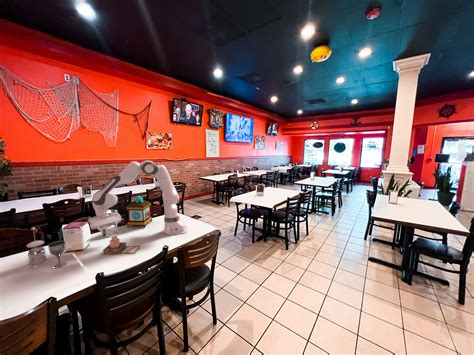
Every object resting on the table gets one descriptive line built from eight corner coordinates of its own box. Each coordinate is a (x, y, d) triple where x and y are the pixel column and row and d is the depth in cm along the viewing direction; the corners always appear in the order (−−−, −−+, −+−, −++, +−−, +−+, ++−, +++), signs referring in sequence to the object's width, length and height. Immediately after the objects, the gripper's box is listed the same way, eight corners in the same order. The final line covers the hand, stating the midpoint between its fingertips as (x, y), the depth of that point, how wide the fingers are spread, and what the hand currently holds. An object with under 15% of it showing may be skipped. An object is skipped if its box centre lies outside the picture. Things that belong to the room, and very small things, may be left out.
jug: (109, 250, 141) (108, 237, 139) (118, 247, 146) (117, 234, 144) (113, 254, 136) (112, 240, 135) (122, 250, 141) (121, 237, 139)
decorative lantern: (124, 228, 182) (122, 198, 177) (135, 220, 201) (133, 193, 197) (145, 228, 182) (144, 198, 177) (154, 221, 202) (153, 193, 197)
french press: (29, 269, 118) (23, 232, 115) (24, 263, 124) (19, 227, 121) (50, 262, 127) (46, 226, 123) (45, 256, 133) (40, 222, 129)
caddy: (141, 247, 149) (141, 241, 148) (134, 255, 137) (134, 249, 136) (112, 247, 147) (112, 241, 146) (102, 256, 135) (102, 250, 135)
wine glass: (48, 270, 118) (45, 247, 116) (53, 263, 125) (51, 242, 123) (65, 266, 122) (62, 245, 120) (69, 260, 129) (66, 239, 127)
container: (109, 237, 163) (108, 222, 161) (101, 236, 165) (100, 222, 163) (116, 233, 171) (115, 219, 169) (109, 232, 172) (108, 218, 170)
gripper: (88, 216, 139) (93, 232, 135) (118, 209, 156) (124, 223, 151) (86, 220, 143) (92, 236, 138) (116, 213, 159) (122, 227, 154)
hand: (109, 229), depth 145 cm, fingers open, 8 cm apart
